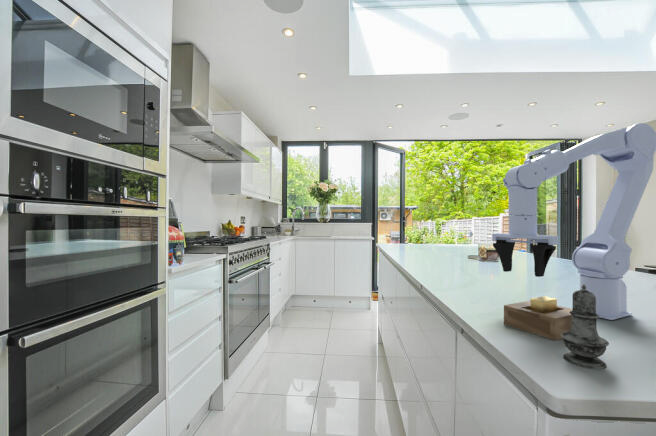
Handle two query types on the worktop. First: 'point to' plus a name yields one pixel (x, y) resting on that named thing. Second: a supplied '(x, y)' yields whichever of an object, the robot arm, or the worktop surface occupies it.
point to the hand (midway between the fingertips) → (522, 273)
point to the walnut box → (538, 320)
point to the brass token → (543, 304)
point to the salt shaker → (584, 333)
